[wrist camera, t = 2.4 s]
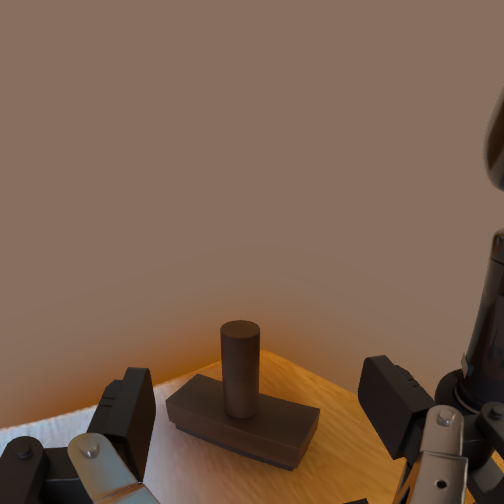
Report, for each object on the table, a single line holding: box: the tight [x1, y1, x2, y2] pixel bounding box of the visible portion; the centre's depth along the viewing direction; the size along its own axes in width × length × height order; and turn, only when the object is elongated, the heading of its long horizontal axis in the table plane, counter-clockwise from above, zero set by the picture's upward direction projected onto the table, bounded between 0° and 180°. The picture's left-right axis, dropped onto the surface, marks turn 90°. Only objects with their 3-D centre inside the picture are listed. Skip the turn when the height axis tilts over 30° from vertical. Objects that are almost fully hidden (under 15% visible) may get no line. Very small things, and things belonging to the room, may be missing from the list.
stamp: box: [166, 320, 320, 471], centre depth 24 cm, size 5×12×11 cm, turn 64°
